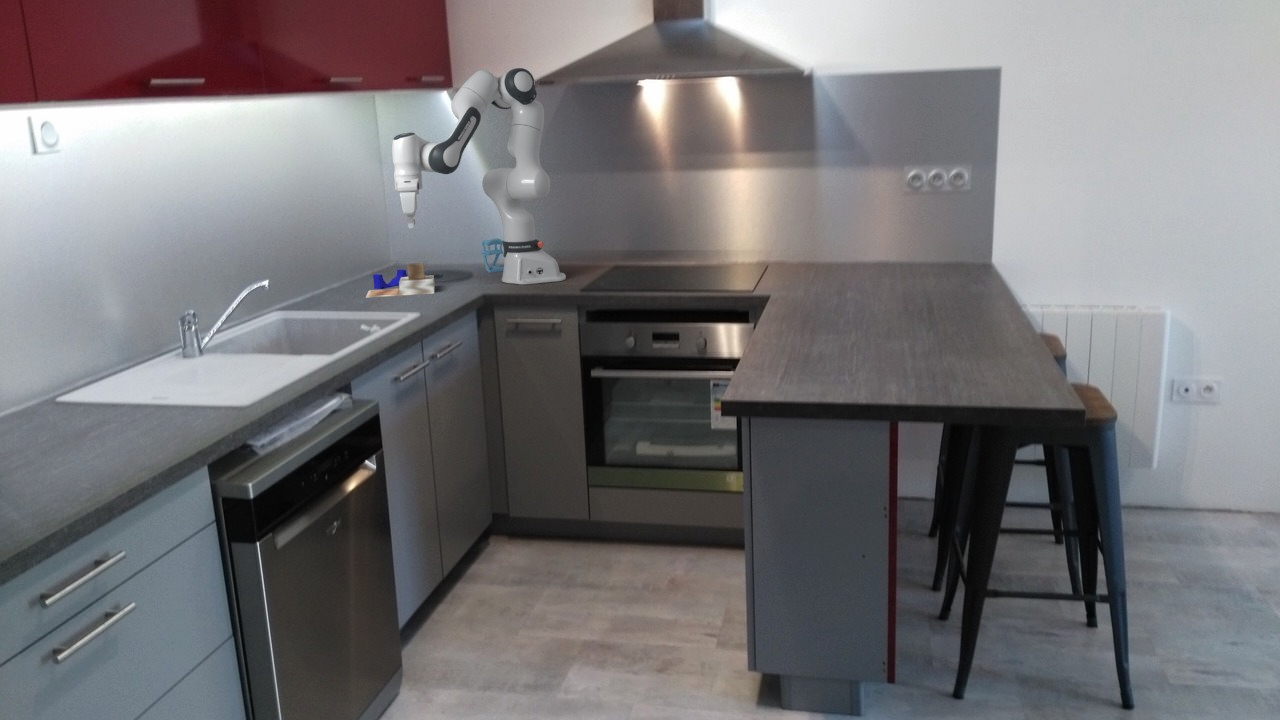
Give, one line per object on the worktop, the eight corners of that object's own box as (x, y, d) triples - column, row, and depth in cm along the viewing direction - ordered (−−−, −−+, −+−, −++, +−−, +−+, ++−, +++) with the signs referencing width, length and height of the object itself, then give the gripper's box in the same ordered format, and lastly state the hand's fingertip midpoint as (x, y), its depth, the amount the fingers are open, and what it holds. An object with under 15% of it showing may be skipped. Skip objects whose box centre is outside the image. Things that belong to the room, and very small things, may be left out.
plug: (425, 289, 357) (423, 262, 355) (425, 291, 354) (423, 264, 352) (410, 290, 357) (407, 263, 354) (409, 292, 354) (407, 265, 351)
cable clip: (399, 285, 373) (397, 269, 371) (407, 287, 370) (406, 270, 369) (371, 291, 364) (370, 274, 362) (380, 292, 361) (378, 275, 359)
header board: (435, 289, 363) (433, 274, 362) (434, 296, 350) (433, 281, 349) (369, 293, 360) (367, 278, 358) (365, 300, 347) (364, 285, 346)
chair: (499, 267, 403) (496, 236, 400) (507, 270, 396) (505, 238, 393) (480, 269, 399) (477, 238, 396) (488, 272, 392) (486, 240, 389)
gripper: (400, 181, 356) (403, 223, 360) (396, 186, 337) (400, 230, 340) (419, 181, 357) (422, 222, 361) (417, 186, 338) (420, 229, 341)
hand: (411, 226), depth 350 cm, fingers open, 8 cm apart
